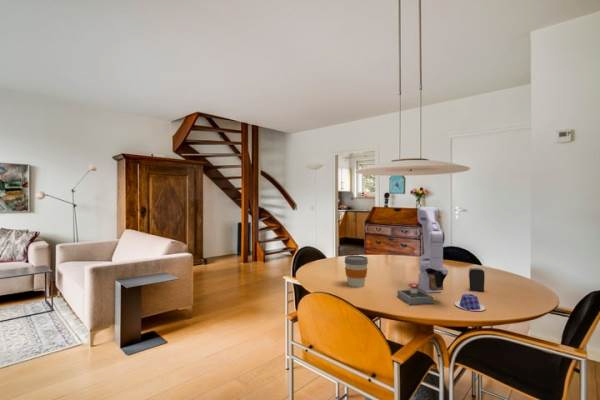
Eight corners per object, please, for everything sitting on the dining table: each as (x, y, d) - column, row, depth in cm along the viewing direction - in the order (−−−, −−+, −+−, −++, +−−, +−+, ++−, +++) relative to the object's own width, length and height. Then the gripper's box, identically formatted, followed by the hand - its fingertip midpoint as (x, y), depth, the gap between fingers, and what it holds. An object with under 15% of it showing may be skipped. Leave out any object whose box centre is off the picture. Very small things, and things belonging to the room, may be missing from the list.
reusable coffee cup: (367, 288, 159) (368, 260, 159) (343, 287, 161) (344, 259, 161) (367, 282, 171) (367, 255, 171) (345, 280, 174) (345, 255, 174)
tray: (397, 296, 147) (397, 290, 147) (418, 295, 149) (418, 289, 149) (410, 305, 135) (410, 298, 135) (432, 303, 137) (432, 297, 137)
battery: (483, 290, 157) (483, 268, 157) (484, 292, 153) (484, 269, 153) (468, 288, 159) (468, 267, 159) (469, 290, 156) (469, 268, 156)
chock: (427, 288, 142) (427, 273, 142) (438, 287, 143) (438, 273, 143) (433, 291, 137) (433, 276, 138) (444, 290, 138) (444, 275, 139)
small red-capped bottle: (415, 297, 144) (415, 282, 144) (421, 300, 140) (421, 285, 140) (407, 297, 143) (407, 283, 143) (412, 300, 139) (412, 286, 139)
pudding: (469, 301, 141) (469, 290, 141) (492, 310, 129) (492, 298, 129) (448, 304, 137) (448, 292, 137) (470, 314, 126) (470, 301, 126)
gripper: (419, 253, 147) (419, 281, 147) (437, 260, 132) (437, 291, 133) (432, 253, 148) (432, 280, 148) (452, 259, 134) (452, 290, 134)
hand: (435, 285), depth 140 cm, fingers closed on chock, 4 cm apart
